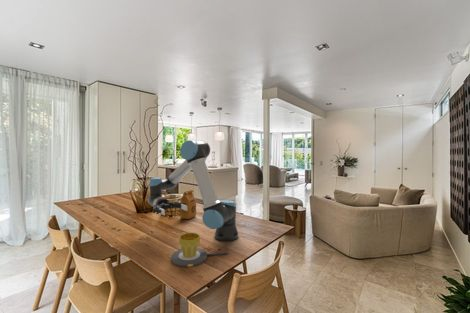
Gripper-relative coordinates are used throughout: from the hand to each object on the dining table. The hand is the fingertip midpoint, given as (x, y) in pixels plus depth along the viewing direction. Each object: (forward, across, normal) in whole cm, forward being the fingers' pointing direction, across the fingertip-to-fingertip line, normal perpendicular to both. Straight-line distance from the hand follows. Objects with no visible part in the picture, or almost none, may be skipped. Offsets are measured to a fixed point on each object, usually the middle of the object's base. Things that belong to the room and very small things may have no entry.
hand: (175, 210), depth 128 cm
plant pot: (+15, 0, -20) cm, 25 cm away
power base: (+17, -5, -22) cm, 28 cm away
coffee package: (-46, -32, -21) cm, 60 cm away
